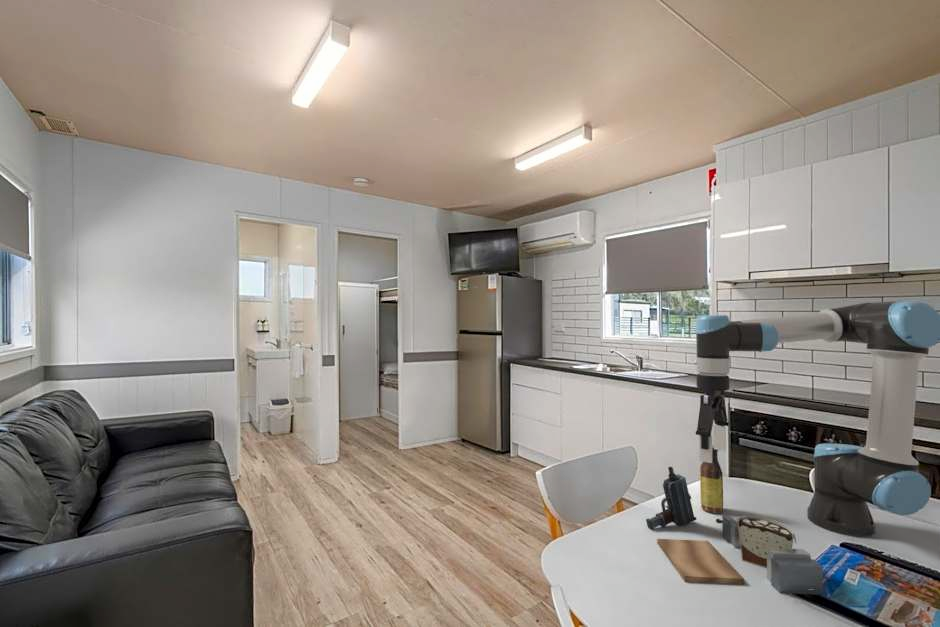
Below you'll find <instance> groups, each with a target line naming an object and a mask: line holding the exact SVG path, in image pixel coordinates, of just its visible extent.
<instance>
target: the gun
mask: <svg viewBox="0 0 940 627" xmlns="http://www.w3.org/2000/svg"><path fill="white" fill-rule="evenodd" d="M667 469H668V473H669V474H668V478H667V479H664V480H663V483H662V488H663V491H664V493H663V494H664V498H662V499H661V503H660V506H661V510H662V511H661V512H659V513H655V516H653V517H651V518H649V517H647V518H646V519H645V521H646V525H647V528H648V529H649V530H651V531H652V530H654V529H655V528H657V527H659V526H660V527H662V528H665V527H667V525H669V524H671V523H673V524H675V525H676V526H678V527H680V528H682V527H685V526H686V525H688V524H690V523H692V522H694V521H697V517H696V516H695V514H694V510H693V505H692V502H691V499H692V496H691V494H690V493H689V489H688V484H687V479H686V477H685V476H683V475H681V474H680V473H677V474H676V473H675V472H674V467H673V466H668V468H667ZM665 503H666V505H665Z"/></svg>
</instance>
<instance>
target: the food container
mask: <svg viewBox="0 0 940 627" xmlns="http://www.w3.org/2000/svg"><path fill="white" fill-rule="evenodd" d="M740 516H741V517H739V518H738V520H737V521H736V525H735V526H737V525H738V530H739V539H740V547H741V548H740V554H741V556H740V557H741V561H742V562H745V563H748V564H751V565H754V566H758V567H760V568H763V569H766V570H767V548H788V549H793V544H797V539H796V538H797V537H796V535H795V533H794V530H793V529H792V528H791V527H790V526H788V525H787V524H784V523H782V522H780V521H778V520H775V519H772V518H768V517H764V516H759V515H740ZM794 542H795V543H794Z"/></svg>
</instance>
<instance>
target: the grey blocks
mask: <svg viewBox="0 0 940 627" xmlns="http://www.w3.org/2000/svg"><path fill="white" fill-rule="evenodd" d="M741 516H742V515H724V514H723V515H722V518H716V519H715V522H716V523H717V524H721V526H722V527H721V528H722V532H721V534H722V538H723V540H725V542H727V543H728V544H731V545H732V546H733V548H734V549H735V548H736V549H741V547H740V539H739V530H738V525H737V526H735V525H736V521H737V520H738V518H739V517H741ZM766 579H767V580H768V581H769V583H770V585H771V586H772V587H773V588H774V589H775V590H776V591H778V592H777V593H779V594H794V595H795V594H796V595H797V594H798V595H799V594H800V595H814V596H815V595H818V596H823V595H824V566H822V564H820V563H818V561H817V560H815V559H813V558H812V555H811V553H809V552H808V551H807V550H805V549H804V548H792V549H788V548H767V569H766ZM808 589H814V590H808Z"/></svg>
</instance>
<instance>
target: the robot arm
mask: <svg viewBox="0 0 940 627" xmlns="http://www.w3.org/2000/svg"><path fill="white" fill-rule="evenodd" d="M695 327H696V328H695V334H696V360H694V364H695V365H696V372H697V374H696V388H698V389H699V390H704V394H700V396H699V397H700V399H699V400H700V404H699V412H698V420H697V426H696V427H697V428H696V431H695V435H697V436H699V461H700V462H702V463H703V462H708V463H712V445H714V449H716V450H718V451H722V452H725V451H726V448H727V446H726V445H727V444H726V439H727V438H726V430H727V429H726V427H729V425H730V422H729V421H728V415H727V407H726V398H725V392H727V391H729V390H730V377H729V374H730V373H731V372H730V352H759V353H761V352H770V351H773V350H774V349H776V347H777V346H778V344H782V343H783V344H784V343H795V342H804V341H818V340H823V341H825V342H827V343H833V342H847V343H858V344H865V345H866V351H867V352H868V353H870V355H871V356H872V358H873V361H872V362H873V363H872V372H871V382H870V383H871V384H870V394H869V396H870V397H869V407H868V418H867V431H866V441H865V446H860V445H853V444H845V443H819V444H817V445H815V448H814V454H813V466H814V467H813V472H814V473H813V474H814V492H813V496H812V497H811V500H810V503H809V506H808V507H807V509H806V510H807V513H806V514H807V519H808V521H810V522H811V523H813V524H814V525H816V526H817V527H821V528H823V529H825V530H827V531H831V532H834V533H837V534H838V533H839V534H841V535H848V536H853V537H871V536H873V535H875V534H876V524H875V521H874V518H873V516H872V513H871V511H870V508H869V506H868V503H869V504H871V505H873V506H875V507H876V508H878V509H880V510H882V511H884V512H885V511H886V512H889V513H892V514H894V515H900V516H910V515H913V514H915V513H918V512H919V511H920V510H923V508H925V507H926V505H927V504H928V503H929V501H930V498H931V495H932V488H931V487H932V486H931V484H930V482H929V481H928V480H927V478H926V477H925V476H924V475H922V474H921V473H920V472H919V466H920V463H919V461H918V460H917V459H915V457H913V455H912V447H913V437H914V426H915V412H916V401H917V390H918V389H917V388H918V377H919V376H918V375H919V364H920V361H921V360H923V359H924V358H926V357H928V356H929V349H930V348H931V347H935V346H936V345H938V344H939V343H940V312H938V311H937V310H936V309H935V307H933V306H932V305H930V304H928V303H926V302H922V301H913V300H911V301H909V300H898V301H897V300H896V301H895V300H894V301H882V302H880V301H879V302H862V303H856V304H852V305H851V304H850V305H845V306H840V307H835V308H826V309H822V310H820V311H819V312H818V313H810V314H807V313H806V314H799V315H787V316H777V317H775V316H774V317H768V318H764V317H763V318H755V319H746V320H735V321H732V320H731V321H730V317H729V316H728V315H721V314H720V315H719V314H717V315H715V314H709V315H707V314H705V315H703V314H702V315H700V316H697V319H696V326H695ZM712 430H713V435H712Z"/></svg>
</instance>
